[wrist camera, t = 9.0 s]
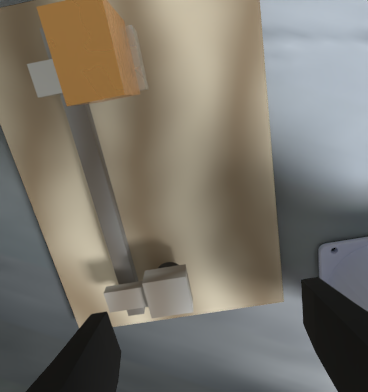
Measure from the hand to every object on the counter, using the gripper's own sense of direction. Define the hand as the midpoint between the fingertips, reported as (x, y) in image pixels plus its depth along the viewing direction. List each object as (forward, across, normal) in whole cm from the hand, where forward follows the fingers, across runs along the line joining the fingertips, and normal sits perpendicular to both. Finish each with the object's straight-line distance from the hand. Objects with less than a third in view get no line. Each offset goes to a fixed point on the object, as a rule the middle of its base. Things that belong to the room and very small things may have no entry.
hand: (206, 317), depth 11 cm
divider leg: (+9, +4, -10) cm, 14 cm away
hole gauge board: (+10, +2, -3) cm, 11 cm away
